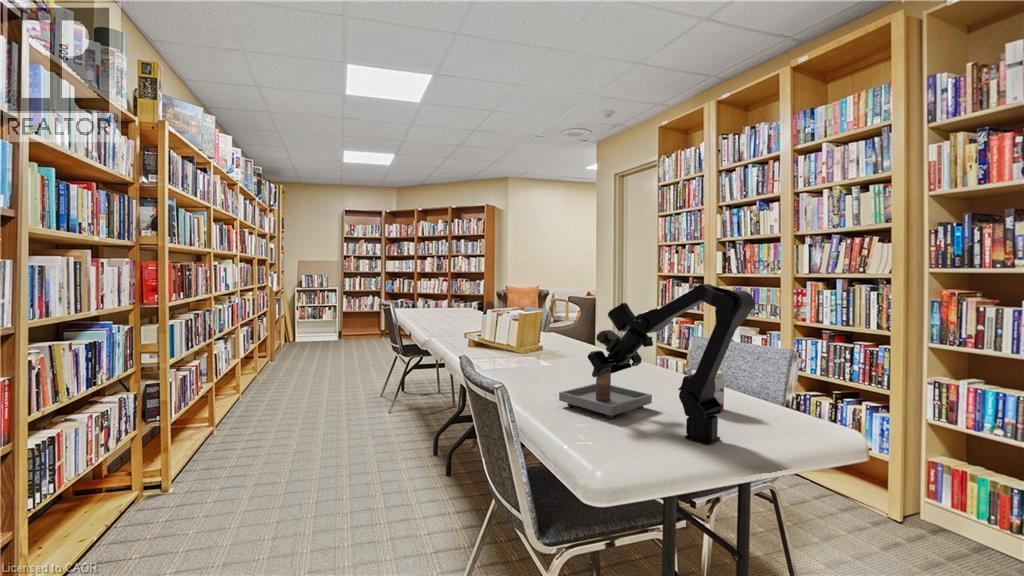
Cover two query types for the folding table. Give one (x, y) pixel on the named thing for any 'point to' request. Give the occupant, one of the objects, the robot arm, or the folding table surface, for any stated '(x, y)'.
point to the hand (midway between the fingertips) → (600, 374)
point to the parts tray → (618, 402)
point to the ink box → (718, 387)
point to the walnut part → (603, 386)
